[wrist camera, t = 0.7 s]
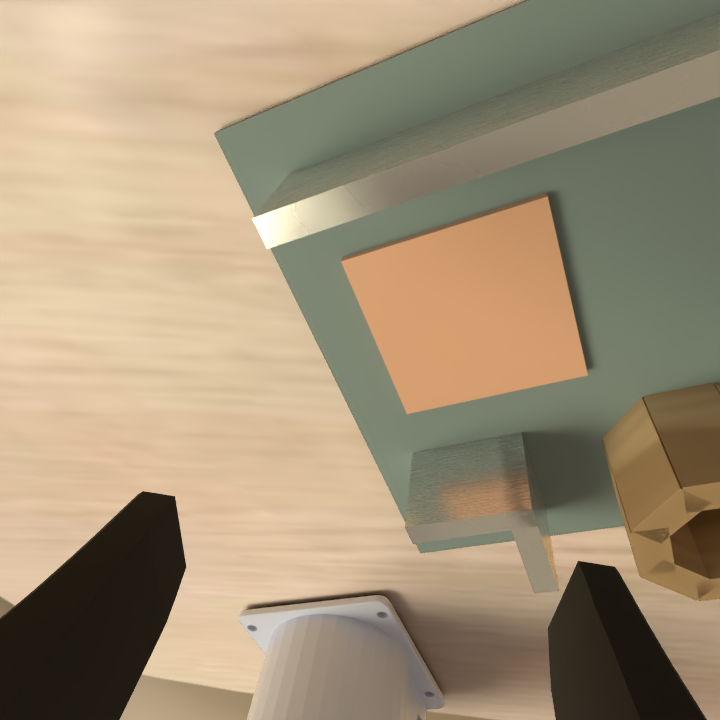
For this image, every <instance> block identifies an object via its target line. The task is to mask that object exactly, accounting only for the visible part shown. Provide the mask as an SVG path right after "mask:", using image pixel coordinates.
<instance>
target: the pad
mask: <svg viewBox="0 0 720 720" xmlns="http://www.w3.org/2000/svg"><path fill="white" fill-rule="evenodd" d="M341 263H342V265H343V268H344V270H345V272H346V274H347V277H348V279H349V281H350V284H351V286H352V288H353V291H354V293H355V295H356V298H357V300H358V302H359V305H360V307H361V309H362V311H363V314H364V316H365V318H366V321H367V323H368V325H369V328H370V330H371V332H372V335H373V337H374V339H375V342H376V344H377V346H378V348H379V351H380V353H381V355H382V358H383V360H384V362H385V365H386V367H387V369H388V372H389V374H390V376H391V379H392V381H393V383H394V385H395V388H396V390H397V392H398V395H399V397H400V399H401V402H402V404H403V406H404V409H405V411H406V413H407V414H410V413H415V412H420V411H424V410H429V409H434V408H438V407H443V406H447V405H452V404H457V403H461V402H466V401H471V400H475V399H480V398H485V397H489V396H494V395H499V394H503V393H508V392H513V391H517V390H522V389H527V388H531V387H536V386H541V385H545V384H550V383H555V382H559V381H564V380H569V379H573V378H578V377H583V376H587V375H588V373H587V369H586V364H585V360H584V355H583V351H582V346H581V342H580V338H579V333H578V329H577V324H576V320H575V315H574V311H573V306H572V302H571V298H570V293H569V289H568V284H567V280H566V275H565V271H564V266H563V262H562V258H561V253H560V249H559V244H558V240H557V235H556V231H555V227H554V222H553V218H552V213H551V209H550V204H549V200H548V196H547V193H544V194H541V195H538V196H535V197H532V198H528V199H525V200H522V201H519V202H516V203H513V204H509V205H506V206H503V207H500V208H497V209H494V210H491V211H487V212H484V213H481V214H478V215H475V216H472V217H468V218H465V219H462V220H459V221H456V222H453V223H449V224H446V225H443V226H440V227H437V228H434V229H431V230H427V231H424V232H421V233H418V234H415V235H412V236H408V237H405V238H402V239H399V240H396V241H393V242H389V243H386V244H383V245H380V246H377V247H374V248H370V249H367V250H364V251H361V252H358V253H355V254H352V255H348V256H345V257H342V260H341Z"/></svg>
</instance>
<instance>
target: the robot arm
mask: <svg viewBox="0 0 720 720" xmlns="http://www.w3.org/2000/svg"><path fill="white" fill-rule="evenodd" d="M185 569H186V563H185V557H184V550H183V544H182V538H181V532H180V525H179V519H178V513H177V507H176V500H175V496H169V495H163V494H157V493H150V492H144V491H143V492H141V493H140V494H138V495H137V496H136V497H135V498H134V499H133V500H132V501H131V502H130V503H129V504H127V505H126V506H125V507H124V508H123V509H122V510H121V511H120V512H119V513H118V514H117V515H116V516H115V517H114V518H113V519H112V520H111V521H110V522H109V523H107V524H106V525H105V526H104V527H103V528H102V529H101V530H100V531H99V532H98V533H97V534H96V535H95V536H94V537H93V538H91V539H90V540H89V541H88V542H87V543H86V544H85V545H84V546H83V547H82V548H81V549H80V550H78V551H77V552H76V553H75V554H74V555H73V556H72V557H71V558H70V559H69V560H67V561H66V562H65V563H64V564H63V565H62V566H61V567H60V568H58V569H57V570H56V571H55V572H54V573H53V574H52V575H51V576H49V577H48V578H47V579H46V580H45V581H44V582H43V583H42V584H40V585H39V586H38V587H37V588H36V589H35V590H34V591H32V592H31V593H30V594H29V595H28V596H27V597H25V598H24V599H23V600H22V601H21V602H19V603H18V604H17V605H16V606H14V607H13V608H12V609H11V610H10V611H8V612H7V613H6V614H5V615H4V616H2V617H1V618H0V720H119V719H120V717H121V715H122V713H123V711H124V709H125V707H126V705H127V703H128V701H129V699H130V697H131V695H132V693H133V691H134V689H135V687H136V685H137V682H138V680H139V678H140V676H141V674H142V672H143V670H144V668H145V666H146V664H147V662H148V660H149V658H150V656H151V654H152V652H153V650H154V647H155V645H156V643H157V641H158V639H159V637H160V635H161V633H162V631H163V629H164V626H165V624H166V622H167V620H168V617H169V614H170V611H171V609H172V606H173V603H174V601H175V598H176V595H177V592H178V589H179V586H180V583H181V580H182V578H183V575H184V572H185ZM238 621H239V623H240V624H241V625H242V626H243V628H244V629H245V630H246V631H247V633H248V634H249V635H250V636H251V638H252V639H253V640H254V642H255V643H256V644H257V645H258V647H259V648H260V649H261V650H262V652H263V653H264V654H265V658H264V661H263V665H262V668H261V672H260V675H259V679H258V682H257V686H256V689H255V693H254V696H253V700H252V704H251V707H250V711H249V714H248V718H247V720H426V716H427V709H438V708H441V707H443V706H444V696H443V694H442V693H441V691H440V689H439V687H438V685H437V684H436V682H435V680H434V678H433V677H432V675H431V673H430V671H429V670H428V668H427V666H426V664H425V663H424V661H423V659H422V657H421V655H420V654H419V652H418V650H417V648H416V647H415V645H414V643H413V641H412V640H411V638H410V636H409V634H408V633H407V631H406V629H405V627H404V625H403V624H402V622H401V620H400V618H399V617H398V615H397V613H396V611H395V610H394V608H393V606H392V604H391V603H390V601H389V600H388V599H387V598H386V597H384V596H381V595H373V596H364V597H355V598H346V599H337V600H328V601H319V602H311V603H302V604H293V605H284V606H275V607H266V608H257V609H249V610H243V611H242V612H241V613H240V616H239V619H238ZM548 638H549V660H550V676H551V691H552V697H553V704H554V710H555V717H556V720H707V719H706V718H705V716H704V714H703V713H702V711H701V710H700V708H699V707H698V705H697V703H696V702H695V700H694V699H693V697H692V695H691V694H690V692H689V691H688V689H687V688H686V686H685V684H684V683H683V681H682V680H681V678H680V676H679V675H678V673H677V672H676V670H675V668H674V667H673V665H672V663H671V662H670V660H669V658H668V657H667V655H666V653H665V652H664V650H663V648H662V647H661V645H660V643H659V642H658V640H657V638H656V637H655V635H654V633H653V631H652V630H651V628H650V626H649V625H648V623H647V621H646V619H645V618H644V616H643V614H642V612H641V611H640V609H639V607H638V605H637V604H636V602H635V600H634V598H633V597H632V595H631V593H630V591H629V589H628V588H627V586H626V584H625V582H624V581H623V579H622V577H621V575H620V574H619V572H618V571H617V569H616V568H615V567H613V566H606V565H600V564H594V563H588V562H581V561H578V563H577V565H576V567H575V569H574V572H573V574H572V576H571V578H570V581H569V583H568V585H567V587H566V589H565V592H564V594H563V596H562V598H561V601H560V603H559V605H558V607H557V610H556V612H555V614H554V616H553V618H552V621H551V623H550V625H549V627H548Z"/></svg>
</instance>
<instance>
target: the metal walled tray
mask: <svg viewBox="0 0 720 720" xmlns="http://www.w3.org/2000/svg"><path fill="white" fill-rule="evenodd" d="M718 97H720V11H719V12H716V13H713V14H711V15H708V16H705V17H703V18H700V19H697V20H695V21H692V22H689V23H687V24H684V25H682V26H679V27H676V28H674V29H671V30H668V31H666V32H663V33H660V34H658V35H655V36H652V37H650V38H647V39H645V40H642V41H639V42H637V43H634V44H631V45H629V46H626V47H623V48H621V49H618V50H615V51H613V52H610V53H608V54H605V55H602V56H600V57H597V58H594V59H592V60H589V61H586V62H584V63H581V64H578V65H576V66H573V67H571V68H568V69H565V70H563V71H560V72H557V73H555V74H552V75H549V76H547V77H544V78H541V79H539V80H536V81H533V82H531V83H528V84H526V85H523V86H520V87H518V88H515V89H512V90H510V91H507V92H504V93H502V94H499V95H496V96H494V97H491V98H489V99H486V100H483V101H481V102H478V103H475V104H473V105H470V106H467V107H465V108H462V109H459V110H457V111H454V112H452V113H449V114H446V115H444V116H441V117H438V118H436V119H433V120H430V121H428V122H425V123H422V124H420V125H417V126H415V127H412V128H409V129H407V130H404V131H401V132H399V133H396V134H393V135H391V136H388V137H385V138H383V139H380V140H378V141H375V142H372V143H370V144H367V145H364V146H362V147H359V148H356V149H354V150H351V151H348V152H346V153H343V154H341V155H338V156H335V157H333V158H330V159H327V160H325V161H322V162H319V163H317V164H314V165H311V166H309V167H306V168H304V169H301V170H298V171H296V172H293V173H290V174H288V175H287V177H286V178H285V179H284V180H283V181H282V183H281V184H280V185H279V186H278V187H277V189H276V190H275V191H274V192H273V193H272V195H271V196H270V197H269V198H268V199H267V201H266V202H265V203H264V204H263V205H262V207H261V208H260V209H259V210H258V211H257V213H256V214H255V215H254V216H253V217H252V220H253V222H254V224H255V226H256V228H257V230H258V232H259V234H260V236H261V238H262V240H263V242H264V244H265V246H266V248H267V249H269V248H272V247H275V246H278V245H281V244H284V243H287V242H290V241H293V240H296V239H299V238H302V237H305V236H308V235H311V234H313V233H316V232H319V231H322V230H325V229H328V228H331V227H334V226H337V225H340V224H343V223H346V222H349V221H352V220H355V219H358V218H361V217H364V216H367V215H370V214H373V213H376V212H379V211H382V210H385V209H388V208H391V207H394V206H397V205H400V204H403V203H406V202H409V201H412V200H415V199H417V198H420V197H423V196H426V195H429V194H432V193H435V192H438V191H441V190H444V189H447V188H450V187H453V186H456V185H459V184H462V183H465V182H468V181H471V180H474V179H477V178H480V177H483V176H486V175H489V174H492V173H495V172H498V171H501V170H504V169H507V168H510V167H513V166H516V165H518V164H521V163H524V162H527V161H530V160H533V159H536V158H539V157H542V156H545V155H548V154H551V153H554V152H557V151H560V150H563V149H566V148H569V147H572V146H575V145H578V144H581V143H584V142H587V141H590V140H593V139H596V138H599V137H602V136H605V135H608V134H611V133H614V132H617V131H620V130H622V129H625V128H628V127H631V126H634V125H637V124H640V123H643V122H646V121H649V120H652V119H655V118H658V117H661V116H664V115H667V114H670V113H673V112H676V111H679V110H682V109H685V108H688V107H691V106H694V105H697V104H700V103H703V102H706V101H709V100H712V99H715V98H718ZM405 528H406V530H407V532H408V534H409V537H410V539H411V541H412V543H413V544H416V543H423V542H430V541H438V540H445V539H452V538H459V537H466V536H473V535H481V534H488V533H495V532H502V531H509V530H512V533H513V536H514V539H515V541H516V544H517V547H518V549H519V552H520V555H521V558H522V560H523V563H524V566H525V569H526V571H527V574H528V577H529V580H530V582H531V585H532V588H533V591H534V593H540V592H550V591H559V588H558V582H557V575H556V569H555V563H554V557H553V551H552V544H551V538H550V532H549V526H548V519H547V513H546V508H545V505H544V502H543V499H542V495H541V492H540V489H539V486H538V483H537V479H536V476H535V473H534V470H533V467H532V464H531V460H530V457H529V454H528V451H527V448H526V444H525V441H524V438H523V435H522V432H518V433H512V434H507V435H502V436H497V437H492V438H486V439H481V440H476V441H471V442H466V443H460V444H455V445H450V446H445V447H440V448H434V449H429V450H424V451H419V452H413V453H412V462H411V472H410V483H409V493H408V503H407V514H406V524H405Z"/></svg>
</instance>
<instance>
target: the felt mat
mask: <svg viewBox="0 0 720 720" xmlns="http://www.w3.org/2000/svg"><path fill="white" fill-rule="evenodd" d="M719 11H720V0H526V1H523V2H521V3H519V4H516V5H514V6H512V7H509V8H507V9H505V10H502V11H500V12H498V13H495V14H493V15H490V16H488V17H486V18H483V19H481V20H479V21H476V22H474V23H472V24H469V25H467V26H464V27H462V28H460V29H457V30H455V31H453V32H450V33H448V34H446V35H443V36H441V37H438V38H436V39H434V40H431V41H429V42H427V43H424V44H422V45H420V46H417V47H415V48H412V49H410V50H408V51H405V52H403V53H401V54H398V55H396V56H394V57H391V58H389V59H387V60H384V61H382V62H379V63H377V64H375V65H372V66H370V67H368V68H365V69H363V70H361V71H358V72H356V73H353V74H351V75H349V76H346V77H344V78H342V79H339V80H337V81H335V82H332V83H330V84H327V85H325V86H323V87H320V88H318V89H316V90H313V91H311V92H309V93H306V94H304V95H301V96H299V97H297V98H294V99H292V100H290V101H287V102H285V103H283V104H280V105H278V106H276V107H273V108H271V109H268V110H266V111H264V112H261V113H259V114H257V115H254V116H252V117H250V118H247V119H245V120H242V121H240V122H238V123H235V124H233V125H231V126H228V127H226V128H224V129H221V130H219V131H217V132H215V133H214V134H215V136H216V138H217V141H218V143H219V145H220V147H221V149H222V151H223V153H224V155H225V157H226V159H227V161H228V163H229V165H230V167H231V169H232V171H233V173H234V175H235V177H236V179H237V181H238V183H239V185H240V187H241V189H242V191H243V193H244V195H245V197H246V199H247V201H248V204H249V206H250V208H251V210H252V212H253V214H254V215H255V214H256V213H257V211H258V210H259V209H260V208H261V207H262V205H263V204H264V203H265V202H266V201H267V199H268V198H269V197H270V196H271V195H272V193H273V192H274V191H275V190H276V189H277V187H278V186H279V185H280V184H281V183H282V181H283V180H284V179H285V178H286V177H287V175H288V174H290V173H293V172H296V171H298V170H301V169H304V168H306V167H309V166H311V165H314V164H317V163H319V162H322V161H325V160H327V159H330V158H333V157H335V156H338V155H341V154H343V153H346V152H348V151H351V150H354V149H356V148H359V147H362V146H364V145H367V144H370V143H372V142H375V141H378V140H380V139H383V138H385V137H388V136H391V135H393V134H396V133H399V132H401V131H404V130H407V129H409V128H412V127H415V126H417V125H420V124H422V123H425V122H428V121H430V120H433V119H436V118H438V117H441V116H444V115H446V114H449V113H452V112H454V111H457V110H459V109H462V108H465V107H467V106H470V105H473V104H475V103H478V102H481V101H483V100H486V99H489V98H491V97H494V96H496V95H499V94H502V93H504V92H507V91H510V90H512V89H515V88H518V87H520V86H523V85H526V84H528V83H531V82H533V81H536V80H539V79H541V78H544V77H547V76H549V75H552V74H555V73H557V72H560V71H563V70H565V69H568V68H571V67H573V66H576V65H578V64H581V63H584V62H586V61H589V60H592V59H594V58H597V57H600V56H602V55H605V54H608V53H610V52H613V51H615V50H618V49H621V48H623V47H626V46H629V45H631V44H634V43H637V42H639V41H642V40H645V39H647V38H650V37H652V36H655V35H658V34H660V33H663V32H666V31H668V30H671V29H674V28H676V27H679V26H682V25H684V24H687V23H689V22H692V21H695V20H697V19H700V18H703V17H705V16H708V15H711V14H713V13H716V12H719ZM544 193H547V196H548V200H549V204H550V209H551V213H552V218H553V222H554V227H555V231H556V235H557V240H558V244H559V249H560V253H561V258H562V262H563V266H564V271H565V275H566V280H567V284H568V289H569V293H570V298H571V302H572V306H573V311H574V315H575V320H576V324H577V329H578V333H579V338H580V342H581V346H582V351H583V355H584V360H585V364H586V369H587V373H588V375H587V376H583V377H578V378H573V379H569V380H564V381H559V382H555V383H550V384H545V385H541V386H536V387H531V388H527V389H522V390H517V391H513V392H508V393H503V394H499V395H494V396H489V397H485V398H480V399H475V400H471V401H466V402H461V403H457V404H452V405H447V406H443V407H438V408H434V409H429V410H424V411H420V412H415V413H410V414H407V413H406V411H405V409H404V406H403V404H402V402H401V399H400V397H399V395H398V392H397V390H396V388H395V385H394V383H393V381H392V379H391V376H390V374H389V372H388V369H387V367H386V365H385V362H384V360H383V358H382V355H381V353H380V351H379V348H378V346H377V344H376V342H375V339H374V337H373V335H372V332H371V330H370V328H369V325H368V323H367V321H366V318H365V316H364V314H363V311H362V309H361V307H360V305H359V302H358V300H357V298H356V295H355V293H354V291H353V288H352V286H351V284H350V281H349V279H348V277H347V274H346V272H345V270H344V268H343V265H342V263H341V260H342V257H345V256H348V255H352V254H355V253H358V252H361V251H364V250H367V249H370V248H374V247H377V246H380V245H383V244H386V243H389V242H393V241H396V240H399V239H402V238H405V237H408V236H412V235H415V234H418V233H421V232H424V231H427V230H431V229H434V228H437V227H440V226H443V225H446V224H449V223H453V222H456V221H459V220H462V219H465V218H468V217H472V216H475V215H478V214H481V213H484V212H487V211H491V210H494V209H497V208H500V207H503V206H506V205H509V204H513V203H516V202H519V201H522V200H525V199H528V198H532V197H535V196H538V195H541V194H544ZM271 250H272V252H273V254H274V256H275V258H276V260H277V262H278V264H279V267H280V269H281V271H282V273H283V275H284V277H285V279H286V281H287V283H288V285H289V287H290V289H291V291H292V293H293V295H294V297H295V299H296V301H297V303H298V305H299V307H300V309H301V311H302V313H303V315H304V317H305V319H306V321H307V323H308V325H309V327H310V330H311V332H312V334H313V336H314V338H315V340H316V342H317V344H318V346H319V348H320V350H321V352H322V354H323V356H324V358H325V360H326V362H327V364H328V366H329V368H330V370H331V372H332V374H333V376H334V378H335V380H336V382H337V384H338V386H339V388H340V390H341V393H342V395H343V397H344V399H345V401H346V403H347V405H348V407H349V409H350V411H351V413H352V415H353V417H354V419H355V421H356V423H357V425H358V427H359V429H360V431H361V433H362V435H363V437H364V439H365V441H366V443H367V445H368V447H369V449H370V451H371V453H372V455H373V458H374V460H375V462H376V464H377V466H378V468H379V470H380V472H381V474H382V476H383V478H384V480H385V482H386V484H387V486H388V488H389V490H390V492H391V494H392V496H393V498H394V500H395V502H396V504H397V506H398V508H399V510H400V512H401V514H402V516H403V518H404V521H405V523H406V514H407V503H408V493H409V483H410V472H411V462H412V453H413V452H419V451H424V450H429V449H434V448H440V447H445V446H450V445H455V444H460V443H466V442H471V441H476V440H481V439H486V438H492V437H497V436H502V435H507V434H512V433H518V432H522V435H523V438H524V441H525V444H526V448H527V451H528V454H529V457H530V460H531V464H532V467H533V470H534V473H535V476H536V479H537V483H538V486H539V489H540V492H541V495H542V499H543V502H544V505H545V508H546V513H547V519H548V526H549V532H550V536H553V535H561V534H568V533H575V532H583V531H590V530H598V529H605V528H613V527H620V526H625V525H624V522H623V518H622V515H621V512H620V508H619V505H618V501H617V498H616V495H615V491H614V488H613V485H612V481H611V477H610V473H609V468H608V464H607V459H606V455H605V451H604V446H603V442H602V439H603V437H604V436H605V435H606V434H607V433H608V431H609V430H610V429H611V428H612V427H613V426H614V425H615V424H616V423H617V422H618V421H619V420H620V419H621V418H622V417H623V416H624V415H625V414H626V413H627V412H628V411H629V410H630V408H631V407H632V406H633V405H634V404H635V403H636V402H637V401H638V400H639V399H640V398H641V397H642V398H643V396H647V395H652V394H657V393H662V392H667V391H672V390H677V389H682V388H687V387H692V386H697V385H702V384H707V383H713V384H714V383H716V384H718V385H720V97H718V98H715V99H712V100H709V101H706V102H703V103H700V104H697V105H694V106H691V107H688V108H685V109H682V110H679V111H676V112H673V113H670V114H667V115H664V116H661V117H658V118H655V119H652V120H649V121H646V122H643V123H640V124H637V125H634V126H631V127H628V128H625V129H622V130H620V131H617V132H614V133H611V134H608V135H605V136H602V137H599V138H596V139H593V140H590V141H587V142H584V143H581V144H578V145H575V146H572V147H569V148H566V149H563V150H560V151H557V152H554V153H551V154H548V155H545V156H542V157H539V158H536V159H533V160H530V161H527V162H524V163H521V164H518V165H516V166H513V167H510V168H507V169H504V170H501V171H498V172H495V173H492V174H489V175H486V176H483V177H480V178H477V179H474V180H471V181H468V182H465V183H462V184H459V185H456V186H453V187H450V188H447V189H444V190H441V191H438V192H435V193H432V194H429V195H426V196H423V197H420V198H417V199H415V200H412V201H409V202H406V203H403V204H400V205H397V206H394V207H391V208H388V209H385V210H382V211H379V212H376V213H373V214H370V215H367V216H364V217H361V218H358V219H355V220H352V221H349V222H346V223H343V224H340V225H337V226H334V227H331V228H328V229H325V230H322V231H319V232H316V233H313V234H311V235H308V236H305V237H302V238H299V239H296V240H293V241H290V242H287V243H284V244H281V245H278V246H275V247H272V248H271ZM508 541H515V539H514V536H513V533H512V530H509V531H502V532H495V533H488V534H481V535H473V536H466V537H459V538H452V539H445V540H438V541H430V542H423V543H416V545H417V547H418V549H419V551H420V553H426V552H434V551H441V550H448V549H456V548H463V547H471V546H478V545H486V544H493V543H501V542H508Z"/></svg>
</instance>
